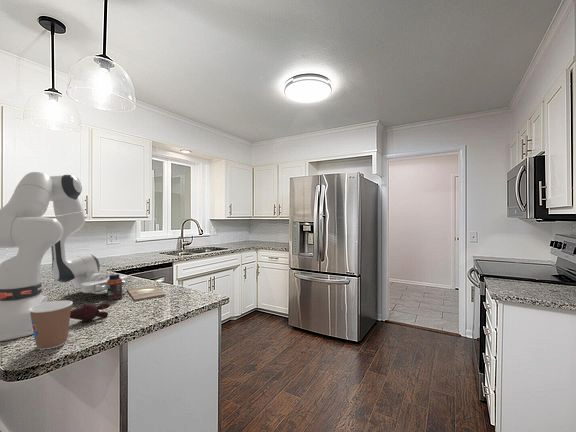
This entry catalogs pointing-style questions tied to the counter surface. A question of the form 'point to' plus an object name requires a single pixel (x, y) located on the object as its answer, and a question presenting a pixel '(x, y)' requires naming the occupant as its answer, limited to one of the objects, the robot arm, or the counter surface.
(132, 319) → the counter surface
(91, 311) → the dark red toy figure
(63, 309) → the coffee cup
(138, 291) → the board
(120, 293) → the supplement bottle
